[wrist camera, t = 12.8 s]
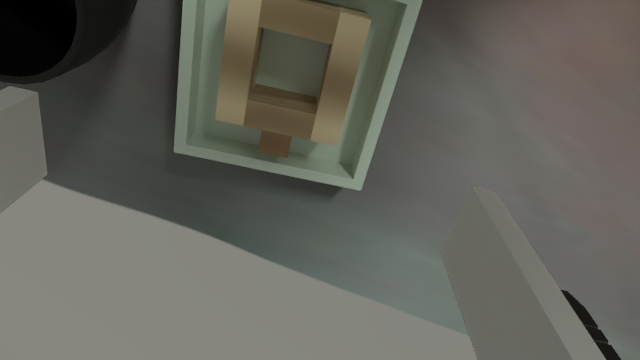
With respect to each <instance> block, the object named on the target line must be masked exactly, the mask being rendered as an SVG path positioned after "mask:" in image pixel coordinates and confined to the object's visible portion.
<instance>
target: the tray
mask: <svg viewBox="0 0 640 360" xmlns="http://www.w3.org/2000/svg"><path fill="white" fill-rule="evenodd" d="M321 1H325V2H329V3H333V4H337V5H341V6H345V7H349V8H353V9H357V10H361V11H365V12H367V14H368V15H369V17H370V18H371V24H370V27H369V31H368V35H367V38H366V42H365V46H364V49H363V53H362V57H361V60H360V64H359V68H358V71H357V75H356V79H355V82H354V86H353V89H352V93H351V97H350V100H349V104H348V108H347V111H346V115H345V119H344V122H343V126H342V130H341V133H340V137H339V140H338V144H337V146H334V145H330V144H325V143H320V142H316V141H311V140H306V139H302V138H297V137H293V136H292V139H291V144H290V149H289V153H288V158H285V157H281V156H276V155H271V154H266V153H262V152H258V148H259V142H260V136H261V131H262V130H260V129H256V128H251V127H246V126H242V125H237V124H232V123H228V122H223V121H219V120H215V116H216V107H217V98H218V89H219V80H220V72H221V63H222V54H223V45H224V36H225V27H226V18H227V9H228V0H183V9H182V25H181V41H180V57H179V73H178V89H177V105H176V122H175V138H174V152H175V153H180V154H185V155H190V156H194V157H199V158H204V159H209V160H214V161H219V162H224V163H228V164H233V165H238V166H243V167H248V168H253V169H257V170H262V171H267V172H272V173H277V174H282V175H287V176H291V177H296V178H301V179H306V180H311V181H316V182H320V183H325V184H330V185H335V186H340V187H345V188H350V189H354V190H359V191H361V189H362V186H363V183H364V180H365V177H366V174H367V171H368V168H369V165H370V162H371V159H372V155H373V152H374V149H375V146H376V143H377V140H378V137H379V134H380V131H381V128H382V125H383V122H384V119H385V115H386V112H387V109H388V106H389V103H390V100H391V97H392V94H393V91H394V88H395V85H396V82H397V78H398V75H399V72H400V69H401V66H402V63H403V60H404V57H405V54H406V51H407V48H408V45H409V41H410V38H411V35H412V32H413V29H414V26H415V23H416V20H417V17H418V14H419V11H420V8H421V5H422V1H423V0H321ZM329 45H330V44H328V43H324V42H320V41H316V40H312V39H307V38H303V37H299V36H295V35H291V34H287V33H283V32H278V31H274V30H270V29H266V28H264V32H263V38H262V45H261V51H260V57H259V64H258V70H257V77H256V84H260V85H265V86H269V87H274V88H278V89H282V90H287V91H291V92H296V93H300V94H305V95H309V96H313V97H317V96H318V92H319V88H320V83H321V79H322V75H323V71H324V66H325V62H326V58H327V54H328V49H329Z"/></svg>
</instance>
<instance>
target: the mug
mask: <svg viewBox="0 0 640 360" xmlns="http://www.w3.org/2000/svg"><path fill="white" fill-rule="evenodd" d="M136 2H137V0H0V81H2V82H8V83H17V84H31V83H39V82H44V81H47V80H49V79H52V78H54V77H57V76H59V75H61V74H64V73H66V72H68V71H70V70H72V69H74V68H76V67H78V66H80V65H82V64H84V63H86V62H88V61H90V60H91V59H92V58H94V57H95V56H96V55H97V54H99V53H100V52H101V51H103V50H104V49H105V48H106V47H108V46H109V45H110V44H111V43H112V42H113V40H114V39H115V38H116V37H117V35H118V34H119V33H120V31H121V30H122V28H123V27H124V25H125V24H126V23H127V21H128V19H129V16H130V14H131V12H132V11H133V9H134V8H135V5H136Z"/></svg>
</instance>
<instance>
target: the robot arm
mask: <svg viewBox="0 0 640 360" xmlns="http://www.w3.org/2000/svg"><path fill="white" fill-rule="evenodd" d="M46 175H47V165H46V157H45V148H44V140H43V131H42V123H41V114H40V106H39V97H38V92H35V91H31V90H26V89H22V88H17V87H12V86H8V87H6V88H4V89H2V90H0V213H1V212H2V211H4V210H5V209H6V208H7V207H8V206H10V205H11V204H12V203H13V202H14V201H16V200H17V199H18V198H19V197H20V196H22V195H23V194H24V193H25V192H27V191H28V190H29V189H30V188H32V187H33V186H34V185H35V184H36V183H38V182H39V181H40V180H41V179H43V178H44V177H45V176H46ZM440 254H441V257H442V260H443V262H444V265H445V268H446V271H447V274H448V277H449V280H450V282H451V285H452V288H453V291H454V294H455V297H456V299H457V302H458V305H459V308H460V311H461V314H462V317H463V319H464V322H465V325H466V328H467V331H468V334H469V336H470V339H471V342H472V345H473V348H474V351H475V354H476V356H477V359H478V360H621V359H620V357H619V356H618V354H617V353H616V352H615V350H614V349H613V347H612V346H611V345H608V340H607V339H606V337H605V336H604V334H603V333H602V331H601V330H599V329H598V326H597V324H596V323H595V321H594V320H593V318H592V317H591V316H590V314H589V313H588V311H587V310H586V308H585V307H584V306H583V305H581V304H580V303H579V302H578V301H577V300H576V299H575V298H574V297H573V296H572V295H571V294H570V293H569V292H567V291H563V290H560V289H559V287H558V286H557V284H556V283H555V281H554V280H553V278H552V277H551V275H550V274H549V272H548V271H547V269H546V268H545V266H544V264H543V263H542V261H541V260H540V258H539V257H538V255H537V254H536V252H535V251H534V249H533V248H532V246H531V245H530V243H529V242H528V240H527V239H526V237H525V236H524V234H523V233H522V231H521V230H520V228H519V227H518V225H517V224H516V222H515V220H514V219H513V217H512V216H511V214H510V213H509V211H508V210H507V208H506V207H505V205H504V204H503V202H502V201H501V199H500V198H499V196H498V195H497V193H496V192H495V191H492V190H488V189H483V188H478V187H474V186H472V188H471V190H470V192H469V194H468V196H467V198H466V200H465V202H464V204H463V206H462V208H461V210H460V213H459V215H458V217H457V219H456V221H455V223H454V225H453V227H452V229H451V231H450V233H449V235H448V237H447V239H446V241H445V243H444V245H443V248H442V250H441V252H440Z"/></svg>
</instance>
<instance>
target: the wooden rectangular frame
mask: <svg viewBox="0 0 640 360" xmlns="http://www.w3.org/2000/svg"><path fill="white" fill-rule="evenodd" d="M370 24H371V18H370V17H369V15H368V14H367V12H365V11H361V10H357V9H353V8H349V7H345V6H341V5H337V4H333V3H329V2H325V1H321V0H228V9H227V18H226V27H225V36H224V45H223V54H222V63H221V72H220V80H219V89H218V98H217V107H216V116H215V120H219V121H223V122H228V123H232V124H237V125H242V126H246V127H251V128H256V129H260V130H262V131H261V136H260V142H259V148H258V152H262V153H266V154H271V155H276V156H281V157H285V158H288V153H289V149H290V144H291V139H292V136H293V137H297V138H302V139H306V140H311V141H316V142H320V143H325V144H330V145H334V146H337V144H338V140H339V137H340V133H341V130H342V126H343V122H344V119H345V115H346V111H347V108H348V104H349V100H350V97H351V93H352V89H353V86H354V82H355V79H356V75H357V71H358V68H359V64H360V60H361V57H362V53H363V49H364V46H365V42H366V38H367V35H368V31H369V27H370ZM264 28H266V29H270V30H274V31H278V32H283V33H287V34H291V35H295V36H299V37H303V38H307V39H312V40H316V41H320V42H324V43H328V44H330V45H329V49H328V54H327V58H326V62H325V66H324V71H323V75H322V79H321V83H320V88H319V92H318V96H317V97H313V96H309V95H305V94H300V93H296V92H291V91H287V90H282V89H278V88H274V87H269V86H265V85H260V84H256V77H257V70H258V64H259V57H260V51H261V45H262V38H263V32H264Z"/></svg>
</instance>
